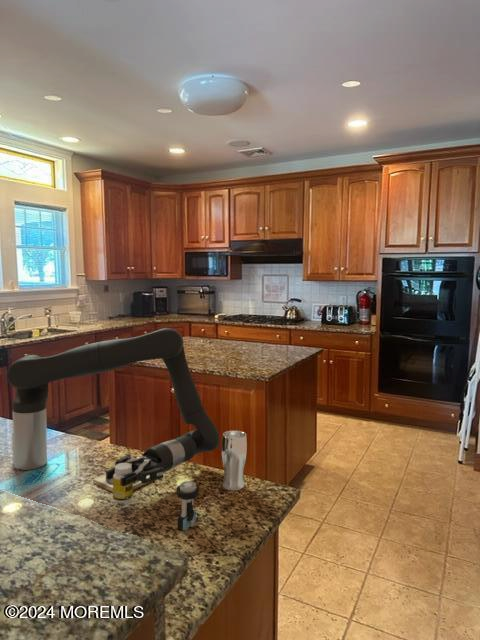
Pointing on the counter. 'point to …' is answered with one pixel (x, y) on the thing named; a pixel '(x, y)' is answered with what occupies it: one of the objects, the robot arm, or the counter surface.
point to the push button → (187, 504)
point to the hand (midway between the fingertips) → (114, 478)
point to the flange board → (109, 483)
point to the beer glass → (234, 459)
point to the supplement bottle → (119, 491)
